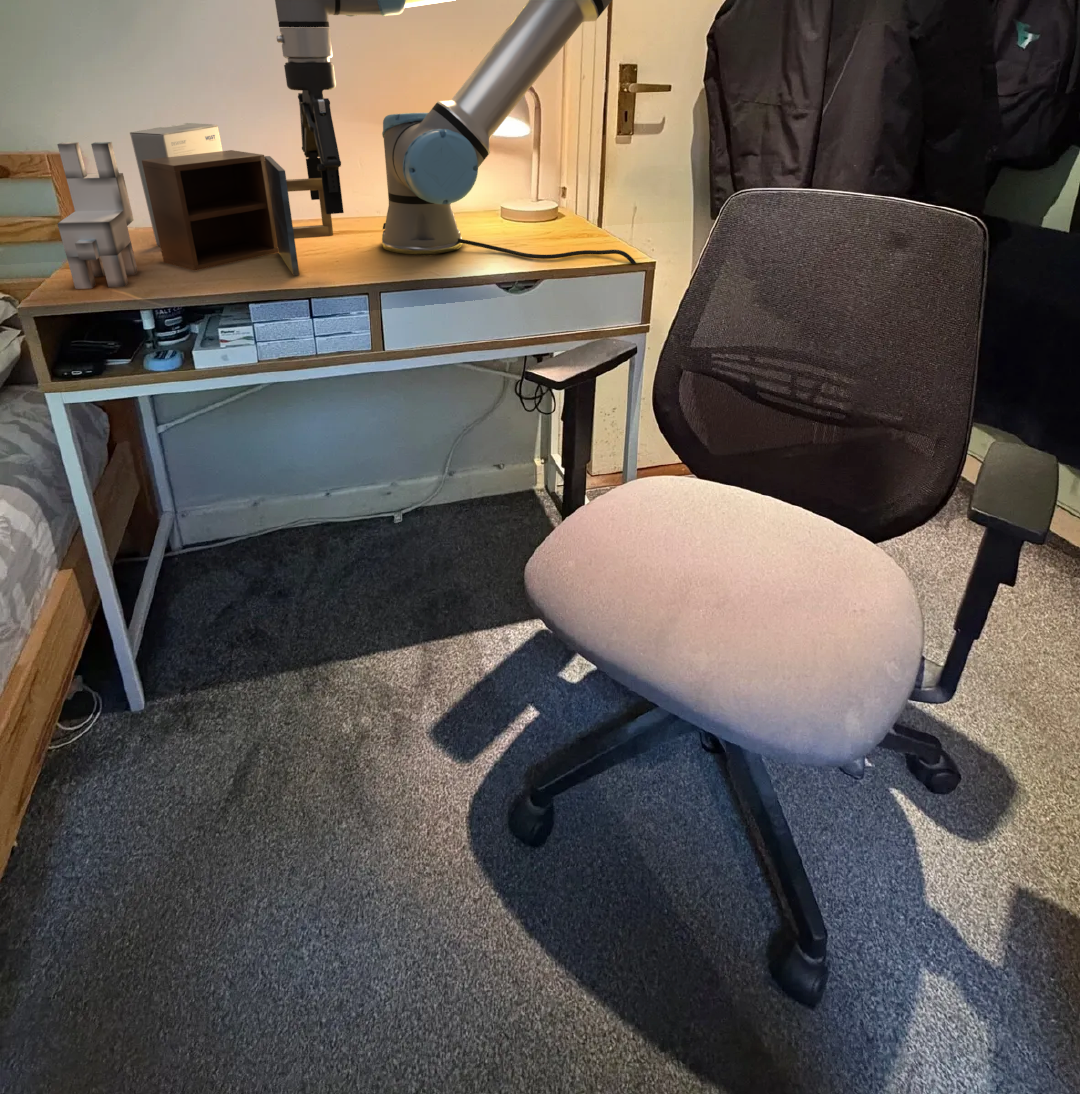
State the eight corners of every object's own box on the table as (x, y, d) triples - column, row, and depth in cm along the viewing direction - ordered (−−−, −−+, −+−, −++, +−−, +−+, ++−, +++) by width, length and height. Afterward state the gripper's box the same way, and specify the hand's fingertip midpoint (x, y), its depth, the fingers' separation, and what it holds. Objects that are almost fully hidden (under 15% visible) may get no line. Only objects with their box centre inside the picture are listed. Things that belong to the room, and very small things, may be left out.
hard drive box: (208, 230, 174) (188, 122, 163) (239, 233, 172) (220, 124, 161) (154, 245, 162) (128, 130, 151) (186, 249, 159) (162, 132, 149)
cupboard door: (320, 249, 160) (309, 154, 151) (339, 271, 146) (327, 168, 137) (278, 252, 157) (264, 156, 149) (293, 275, 143) (278, 170, 135)
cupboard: (278, 252, 158) (264, 154, 149) (195, 271, 146) (173, 165, 137) (247, 245, 163) (231, 149, 154) (163, 262, 151) (141, 160, 142)
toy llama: (71, 293, 133) (32, 154, 123) (98, 266, 148) (66, 140, 137) (121, 291, 135) (87, 154, 124) (144, 264, 149) (115, 140, 139)
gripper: (272, 57, 139) (292, 195, 150) (297, 64, 120) (317, 221, 131) (318, 56, 142) (334, 192, 153) (349, 63, 122) (365, 217, 133)
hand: (326, 206), depth 142 cm, fingers open, 13 cm apart
